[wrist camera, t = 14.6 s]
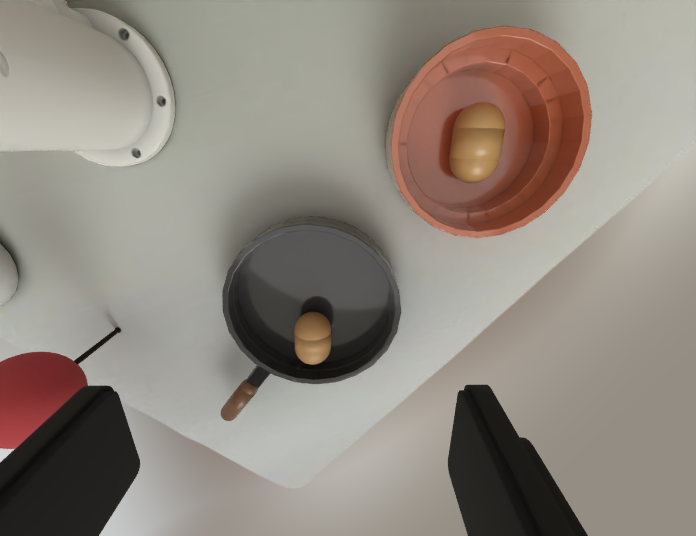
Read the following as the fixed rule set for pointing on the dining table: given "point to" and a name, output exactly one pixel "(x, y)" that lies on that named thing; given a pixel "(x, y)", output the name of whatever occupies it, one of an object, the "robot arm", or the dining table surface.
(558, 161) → the bowl
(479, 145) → the potato
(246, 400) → the skillet handle
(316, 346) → the potato
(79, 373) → the lollipop
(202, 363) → the dining table surface
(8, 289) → the donut
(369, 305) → the skillet
